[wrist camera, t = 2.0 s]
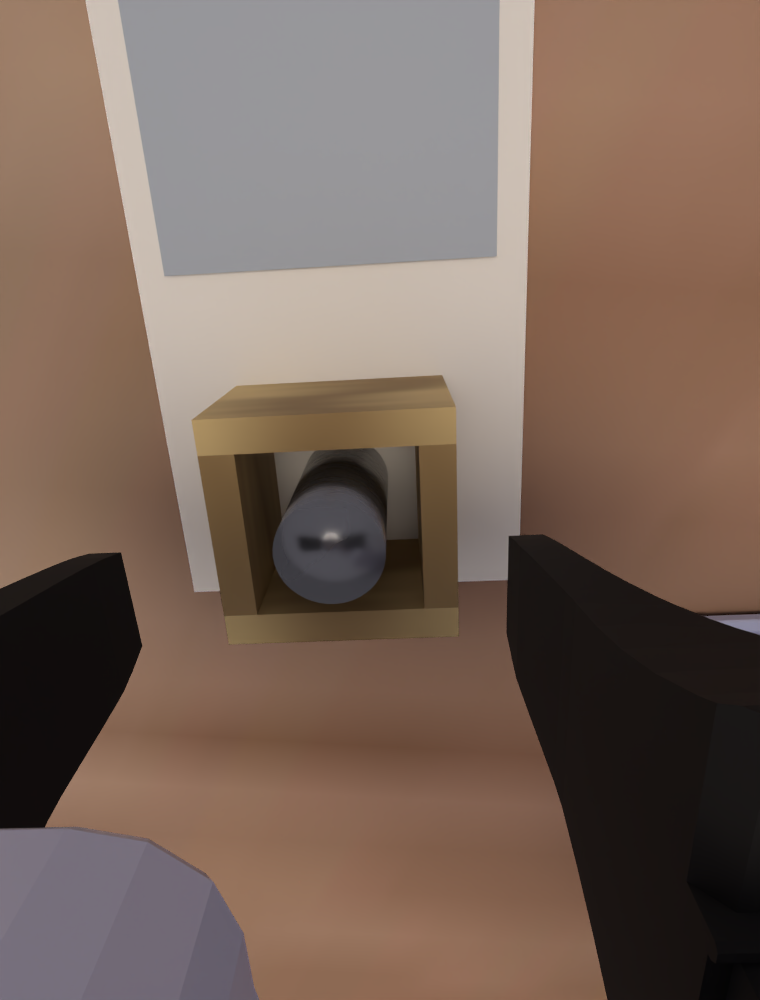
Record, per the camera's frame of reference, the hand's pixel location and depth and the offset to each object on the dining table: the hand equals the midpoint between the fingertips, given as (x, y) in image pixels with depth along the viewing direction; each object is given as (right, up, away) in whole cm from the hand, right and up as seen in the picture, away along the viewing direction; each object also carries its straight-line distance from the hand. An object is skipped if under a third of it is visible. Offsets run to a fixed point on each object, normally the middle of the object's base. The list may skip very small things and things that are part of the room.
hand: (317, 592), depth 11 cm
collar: (0, +2, +6) cm, 7 cm away
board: (0, +7, +5) cm, 9 cm away
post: (0, +3, +7) cm, 8 cm away
